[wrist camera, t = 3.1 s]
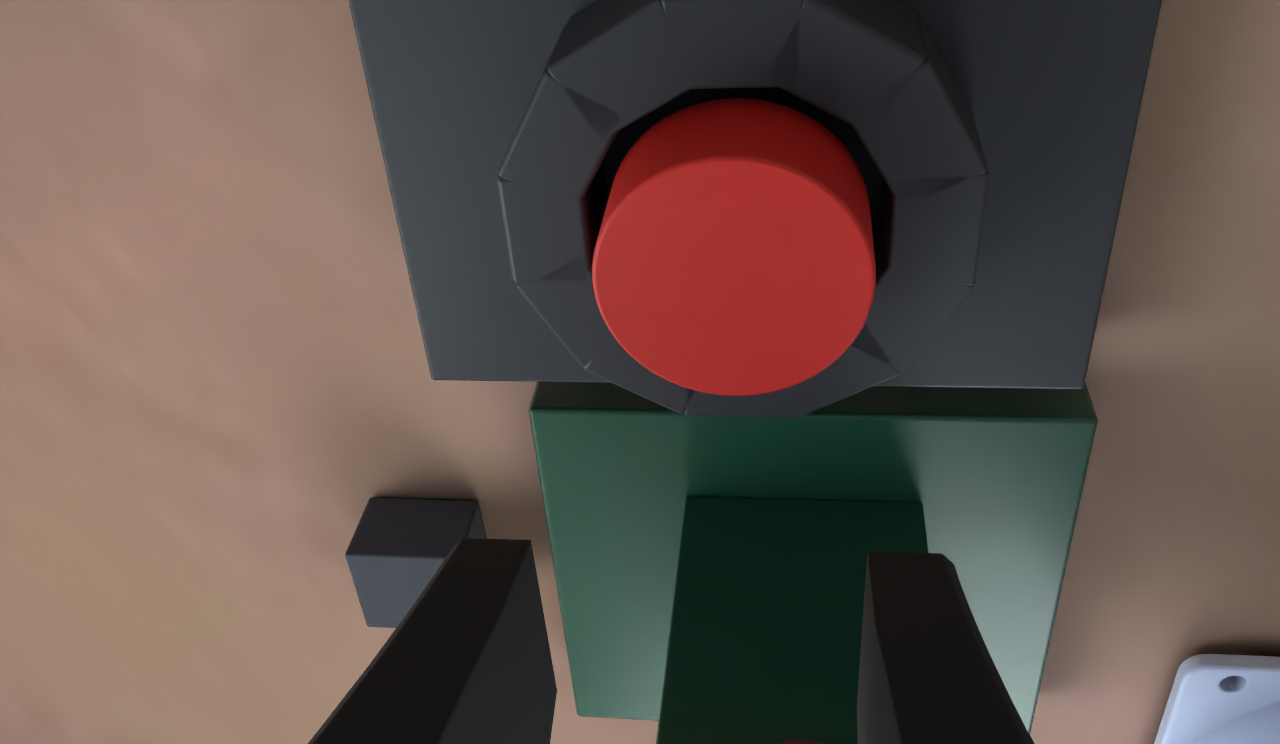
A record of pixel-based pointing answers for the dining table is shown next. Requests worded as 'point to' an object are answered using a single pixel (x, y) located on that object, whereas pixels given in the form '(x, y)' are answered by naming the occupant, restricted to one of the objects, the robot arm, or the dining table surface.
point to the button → (736, 248)
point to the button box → (787, 75)
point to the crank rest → (405, 551)
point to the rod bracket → (794, 544)
